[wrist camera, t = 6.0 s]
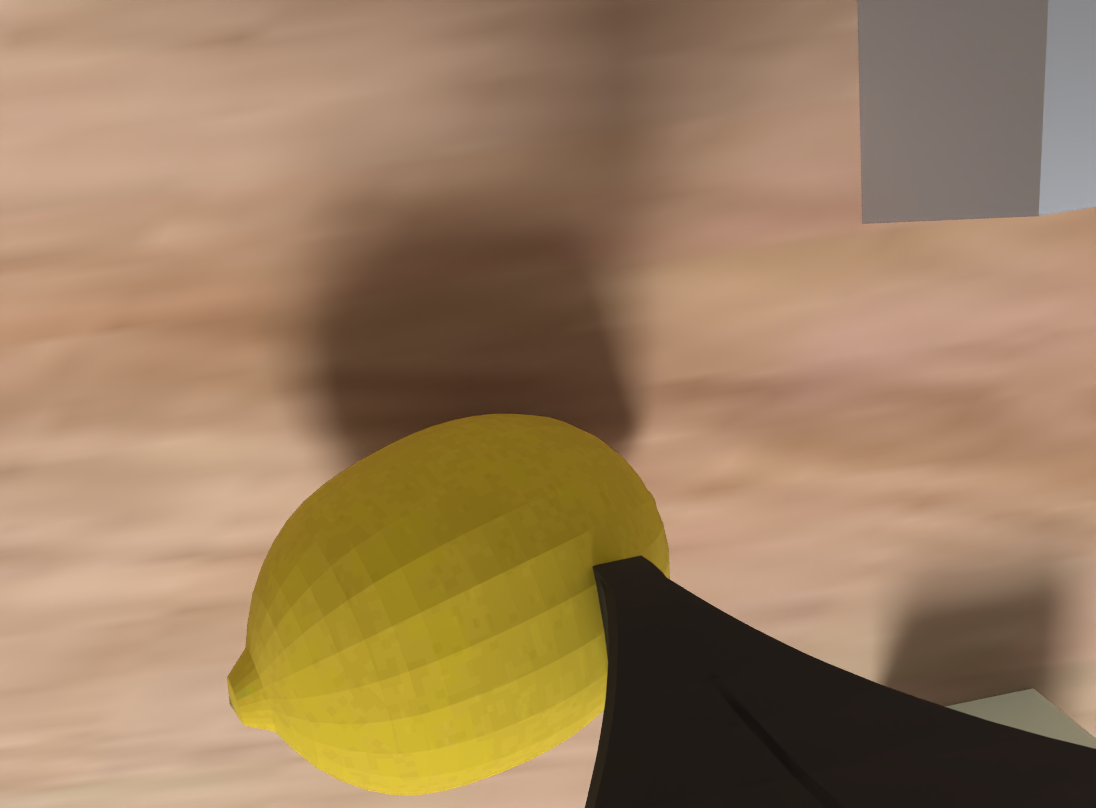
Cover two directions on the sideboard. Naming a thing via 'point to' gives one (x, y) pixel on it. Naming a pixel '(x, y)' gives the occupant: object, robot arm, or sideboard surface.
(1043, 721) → the sage block
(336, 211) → the sideboard surface
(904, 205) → the slate block
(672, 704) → the robot arm
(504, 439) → the lemon
